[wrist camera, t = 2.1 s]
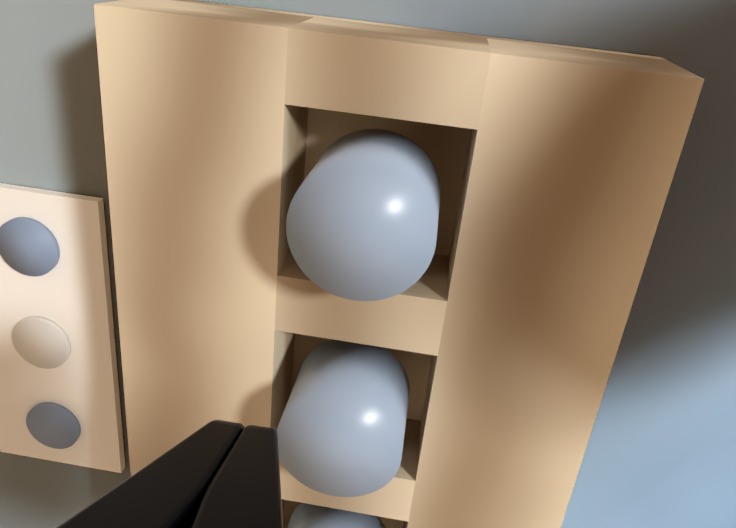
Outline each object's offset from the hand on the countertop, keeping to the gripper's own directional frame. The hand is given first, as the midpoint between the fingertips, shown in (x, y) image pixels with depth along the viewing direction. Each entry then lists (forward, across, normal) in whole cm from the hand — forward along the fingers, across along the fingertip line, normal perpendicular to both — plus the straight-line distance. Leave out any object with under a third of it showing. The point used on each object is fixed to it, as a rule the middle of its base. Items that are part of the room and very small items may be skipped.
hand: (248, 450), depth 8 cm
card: (+10, +10, +6) cm, 15 cm away
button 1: (+8, -1, -1) cm, 8 cm away
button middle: (+8, 0, +5) cm, 9 cm away
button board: (+10, 0, +5) cm, 11 cm away
